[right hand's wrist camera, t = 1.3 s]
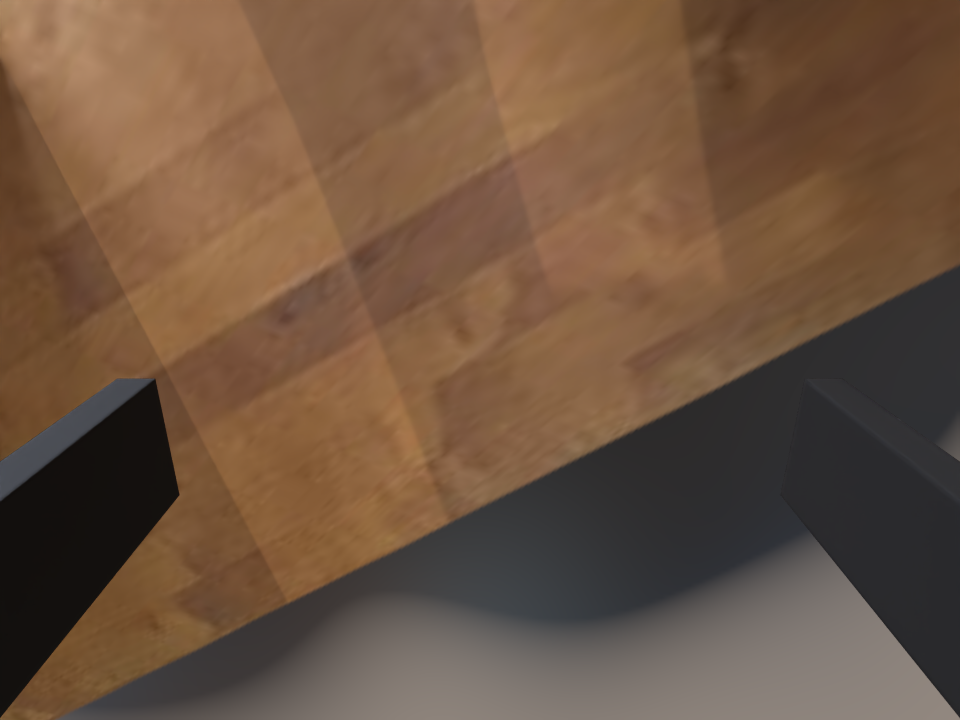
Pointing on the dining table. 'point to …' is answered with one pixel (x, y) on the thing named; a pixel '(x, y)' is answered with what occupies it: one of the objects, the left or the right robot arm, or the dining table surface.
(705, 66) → the dining table surface
